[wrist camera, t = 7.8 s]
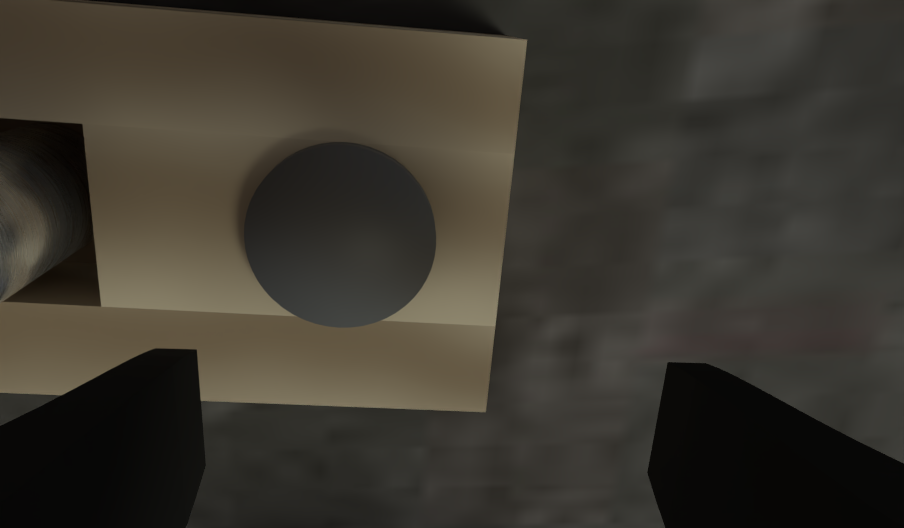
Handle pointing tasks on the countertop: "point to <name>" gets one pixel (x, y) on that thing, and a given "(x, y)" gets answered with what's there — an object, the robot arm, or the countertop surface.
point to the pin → (41, 202)
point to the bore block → (269, 201)
